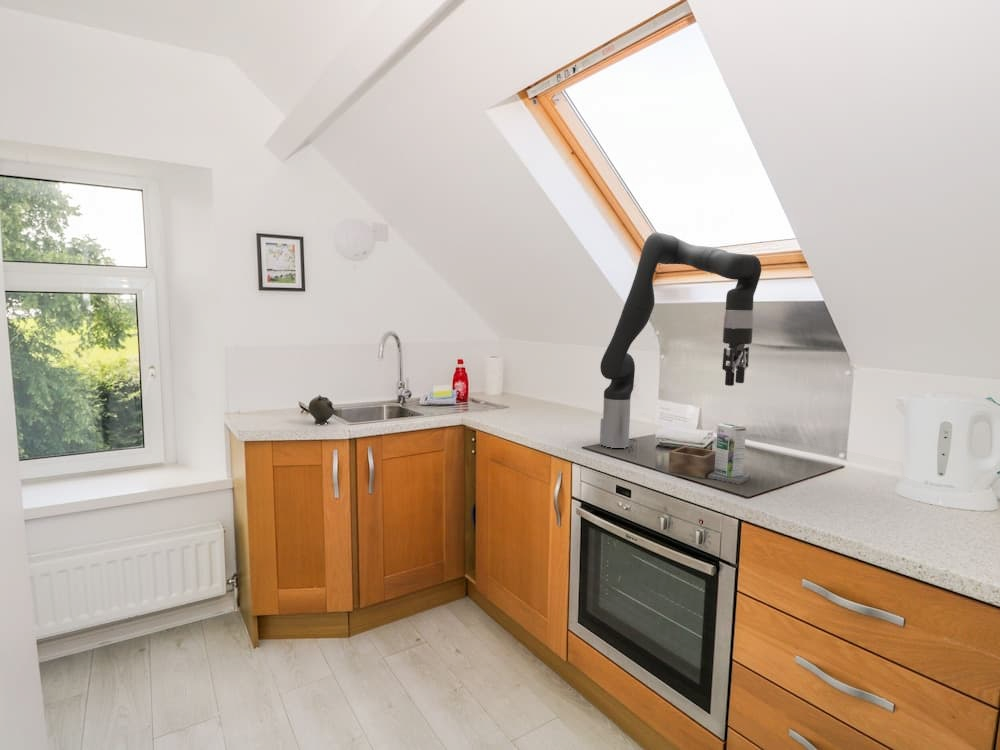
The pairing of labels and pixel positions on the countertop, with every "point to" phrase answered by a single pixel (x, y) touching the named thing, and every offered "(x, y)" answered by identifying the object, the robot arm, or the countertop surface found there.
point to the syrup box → (730, 449)
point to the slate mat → (732, 479)
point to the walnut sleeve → (692, 461)
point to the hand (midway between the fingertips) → (734, 384)
